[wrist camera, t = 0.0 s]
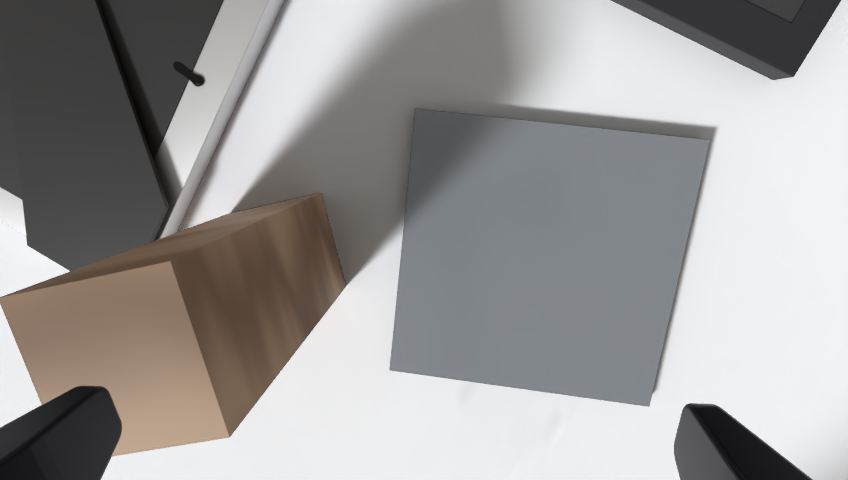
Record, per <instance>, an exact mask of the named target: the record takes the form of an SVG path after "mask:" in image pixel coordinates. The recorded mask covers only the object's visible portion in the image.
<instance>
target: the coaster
mask: <svg viewBox="0 0 848 480" xmlns="http://www.w3.org/2000/svg"><path fill="white" fill-rule="evenodd" d="M709 143H710V140H704V139H695V138H686V137H676V136H667V135H658V134H648V133H639V132H630V131H620V130H611V129H602V128H592V127H583V126H574V125H564V124H555V123H546V122H536V121H527V120H518V119H508V118H499V117H490V116H480V115H471V114H462V113H453V112H443V111H434V110H425V109H415V119H414V129H413V139H412V149H411V159H410V169H409V179H408V190H407V200H406V210H405V220H404V230H403V240H402V250H401V260H400V270H399V281H398V291H397V301H396V311H395V321H394V331H393V341H392V351H391V361H390V370H391V371H398V372H405V373H413V374H420V375H427V376H434V377H441V378H448V379H456V380H463V381H470V382H477V383H484V384H491V385H498V386H506V387H513V388H520V389H527V390H534V391H541V392H548V393H556V394H563V395H570V396H577V397H584V398H591V399H598V400H606V401H613V402H620V403H627V404H634V405H641V406H649V405H650V401H651V397H652V392H653V388H654V384H655V379H656V375H657V370H658V366H659V362H660V357H661V353H662V348H663V344H664V340H665V335H666V331H667V327H668V322H669V318H670V313H671V309H672V305H673V300H674V296H675V292H676V287H677V283H678V278H679V274H680V270H681V265H682V261H683V256H684V252H685V248H686V243H687V239H688V235H689V230H690V226H691V221H692V217H693V213H694V208H695V204H696V199H697V195H698V191H699V186H700V182H701V178H702V173H703V169H704V164H705V160H706V156H707V151H708V147H709Z"/></svg>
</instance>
